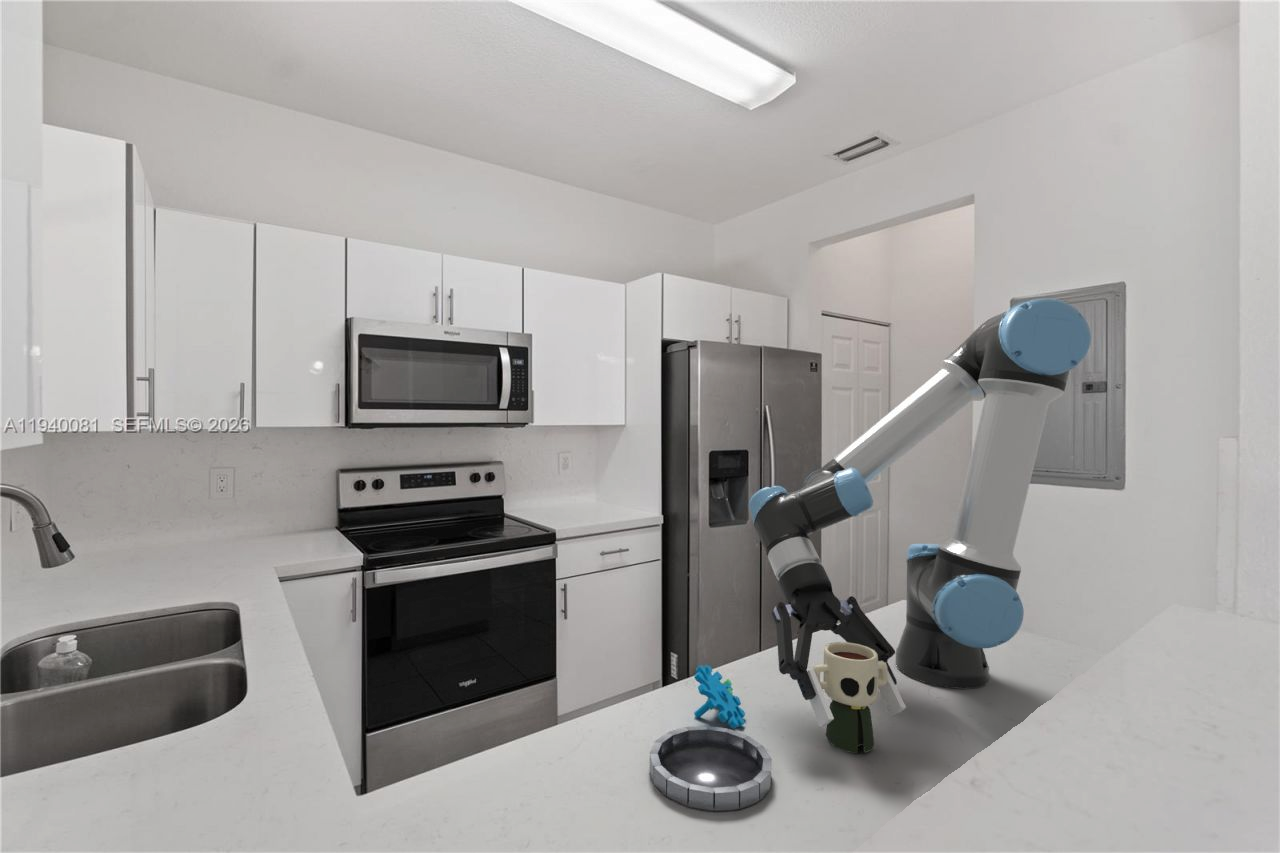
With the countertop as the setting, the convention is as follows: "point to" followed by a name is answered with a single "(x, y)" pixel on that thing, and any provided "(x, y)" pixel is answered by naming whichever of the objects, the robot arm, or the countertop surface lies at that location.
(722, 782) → the grey round tray
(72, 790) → the countertop surface
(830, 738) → the character mug
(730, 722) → the gear
